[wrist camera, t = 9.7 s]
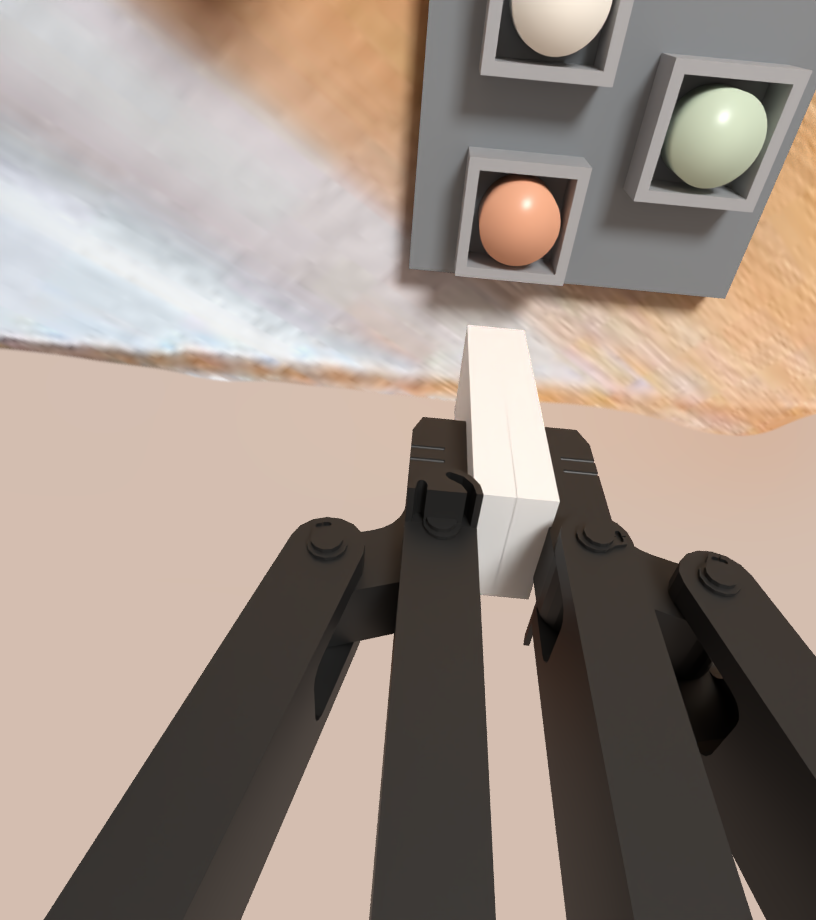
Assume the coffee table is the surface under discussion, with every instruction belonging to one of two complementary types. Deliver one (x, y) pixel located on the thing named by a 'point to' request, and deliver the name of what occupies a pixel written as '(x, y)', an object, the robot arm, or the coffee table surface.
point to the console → (603, 138)
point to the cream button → (558, 23)
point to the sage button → (714, 135)
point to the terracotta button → (518, 219)
